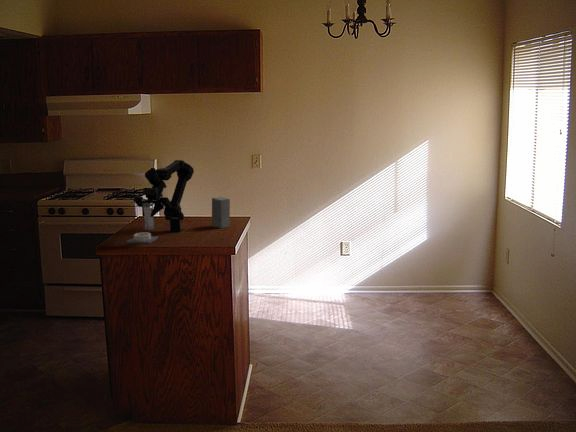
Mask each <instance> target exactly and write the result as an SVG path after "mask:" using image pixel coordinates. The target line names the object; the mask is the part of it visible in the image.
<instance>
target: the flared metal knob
mask: <svg viewBox="0 0 576 432" xmlns="http://www.w3.org/2000/svg"><path fill="white" fill-rule="evenodd" d="M143 207H144V226H145V227H144V229H145V230H146V231H150V230H155V220H154V219H155V217H154V216H153V217H151V214H152V211H153V208H154V204H153V202H145V203H143Z"/></svg>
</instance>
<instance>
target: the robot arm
mask: <svg viewBox="0 0 576 432" xmlns="http://www.w3.org/2000/svg"><path fill="white" fill-rule="evenodd" d="M194 172H195V171H194V167H193V166H192V165H190V164H189V163H186V161H184V160H182V159H176V160H173V162H172V163H170V164H168V165H167V166H166V167H160V168H157V169H156V168H155V167H150V169H149V170H147V171H146V172H144V177H145V178H146V180H147V182H148V183H149V184H150V185H152V186H151V187H143V189H142V195H145V198H144V197H143V196H134V198H133V203H135V204H136V206H137V207H138V208H141V209H142V210H141V211H142V213H141V214H142V217H144V207H143V203H145V202H153V211H152V214H151V217H154V216H156V214H157V213H158V214H159V212H161V211H162V210H163V216H164V219H165V221H169V222H168V223H169V230H167V233H180V232H181V231H183V230H184V228H181V227H182V226H181V221H183V220H184V219H185V214H184V213H183V212H182V206H181V201H182V199H183V195H184V192H185V189H186V186H187V182H188V181H190V180H191V179H192V177H193V175H194ZM175 173H176V175H177V182H176V185H175V188H174V192H172V193H173V194H172V197H171V199H169V197H165V196H164V197H163V191H164V189H167V184H166V182H165V181H170V179H171V178H172V175H173V174H175Z"/></svg>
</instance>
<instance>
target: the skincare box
mask: <svg viewBox="0 0 576 432" xmlns="http://www.w3.org/2000/svg"><path fill="white" fill-rule="evenodd" d="M230 205H231V199H230V198H228V197H227V198H226V197H223V196H217V197H211V227H213V228H214V227H215V228H218V229H223V228H229V227H231V226H230V225H231V223H230V221H231V216H230V214H231V212H230V211H231V206H230Z"/></svg>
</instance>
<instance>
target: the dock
mask: <svg viewBox="0 0 576 432" xmlns="http://www.w3.org/2000/svg"><path fill="white" fill-rule="evenodd" d="M158 239H159V236H152V233H150V232H136V233H135V234H133V237H132V238H130V239H128V240H127V241H126V243H127V244H151V243H152V242H154V241H156V240H158Z"/></svg>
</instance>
